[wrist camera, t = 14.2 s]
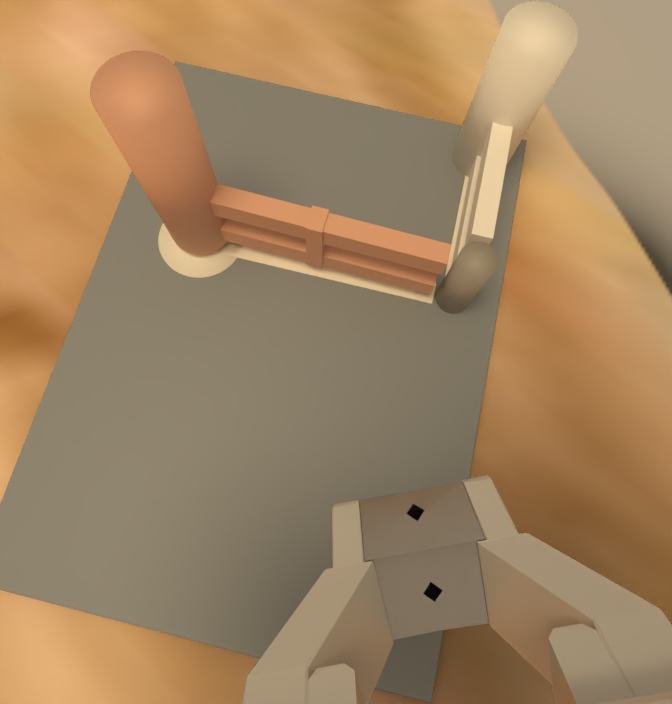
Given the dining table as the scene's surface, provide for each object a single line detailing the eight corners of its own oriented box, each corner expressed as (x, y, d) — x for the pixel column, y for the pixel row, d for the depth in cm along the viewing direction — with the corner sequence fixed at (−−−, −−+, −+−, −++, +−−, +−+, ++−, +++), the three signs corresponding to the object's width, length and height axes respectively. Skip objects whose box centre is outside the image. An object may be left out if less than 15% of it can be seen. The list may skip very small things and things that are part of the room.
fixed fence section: (419, 306, 27) (462, 228, 19) (457, 127, 30) (508, -6, 22) (478, 320, 27) (547, 248, 19) (510, 139, 30) (582, 9, 22)
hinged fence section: (183, 195, 28) (110, 41, 18) (437, 261, 27) (500, 139, 18) (162, 246, 27) (75, 114, 18) (424, 315, 27) (482, 219, 17)
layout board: (-25, 580, 24) (-31, 581, 23) (177, 66, 31) (175, 60, 31) (429, 699, 23) (431, 703, 23) (523, 144, 30) (526, 140, 30)
